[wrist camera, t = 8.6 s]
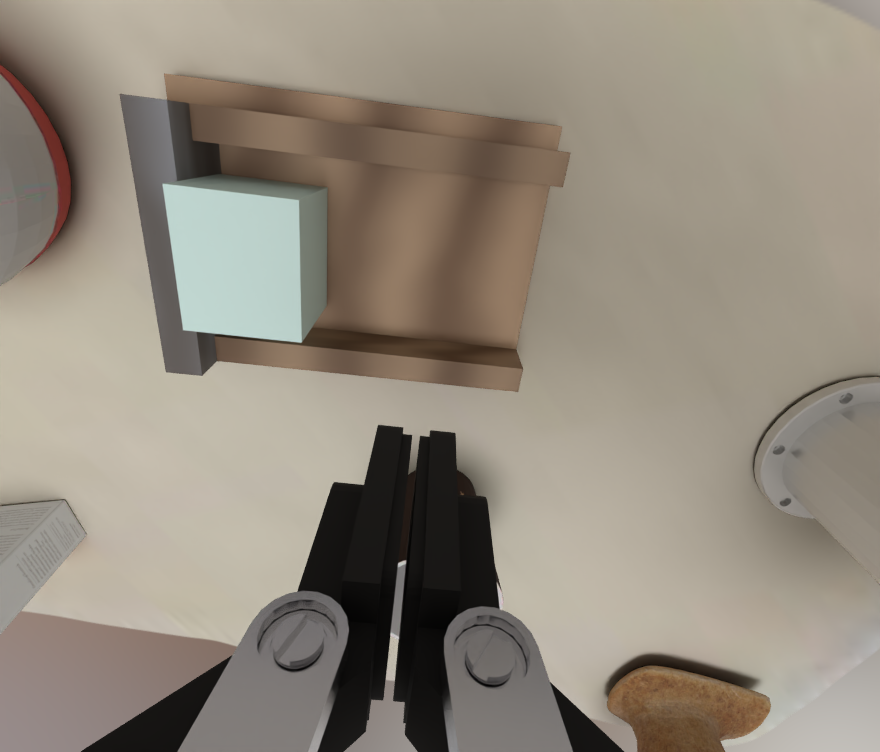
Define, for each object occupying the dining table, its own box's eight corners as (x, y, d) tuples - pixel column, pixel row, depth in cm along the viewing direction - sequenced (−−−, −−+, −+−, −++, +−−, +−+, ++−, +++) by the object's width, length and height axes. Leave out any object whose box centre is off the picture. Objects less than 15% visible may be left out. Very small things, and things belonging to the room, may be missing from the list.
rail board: (557, 126, 26) (588, 124, 21) (506, 378, 34) (519, 425, 28) (175, 76, 25) (101, 59, 20) (207, 346, 33) (160, 389, 27)
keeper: (327, 187, 26) (298, 200, 21) (326, 305, 30) (301, 342, 24) (219, 174, 26) (162, 183, 21) (230, 294, 29) (183, 330, 24)
